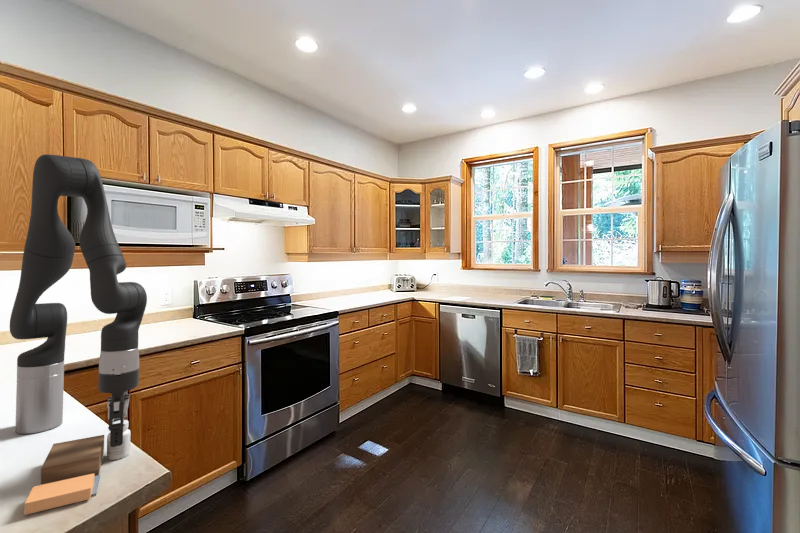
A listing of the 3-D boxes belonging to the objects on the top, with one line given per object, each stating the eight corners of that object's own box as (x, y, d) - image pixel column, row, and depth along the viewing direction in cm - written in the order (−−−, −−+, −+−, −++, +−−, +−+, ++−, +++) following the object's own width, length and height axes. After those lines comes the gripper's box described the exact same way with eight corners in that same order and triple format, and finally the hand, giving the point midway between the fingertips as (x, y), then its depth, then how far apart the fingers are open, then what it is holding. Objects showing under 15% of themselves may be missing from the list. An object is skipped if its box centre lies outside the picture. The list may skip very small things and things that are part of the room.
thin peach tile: (24, 503, 66) (24, 515, 66) (90, 488, 71) (90, 498, 71) (33, 486, 71) (33, 497, 71) (94, 473, 76) (94, 483, 76)
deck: (53, 461, 85) (53, 443, 85) (103, 451, 90) (104, 434, 90) (40, 488, 75) (41, 468, 75) (98, 475, 80) (99, 456, 80)
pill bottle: (117, 450, 90) (118, 418, 90) (134, 451, 90) (135, 419, 90) (101, 459, 86) (102, 425, 86) (119, 461, 86) (120, 427, 86)
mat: (48, 488, 75) (48, 486, 75) (100, 476, 79) (100, 474, 79) (39, 509, 69) (39, 506, 69) (96, 495, 73) (96, 493, 73)
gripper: (102, 363, 92) (100, 430, 91) (94, 378, 80) (93, 455, 80) (139, 360, 96) (138, 424, 96) (138, 373, 84) (136, 446, 84)
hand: (117, 438), depth 88 cm, fingers open, 8 cm apart
